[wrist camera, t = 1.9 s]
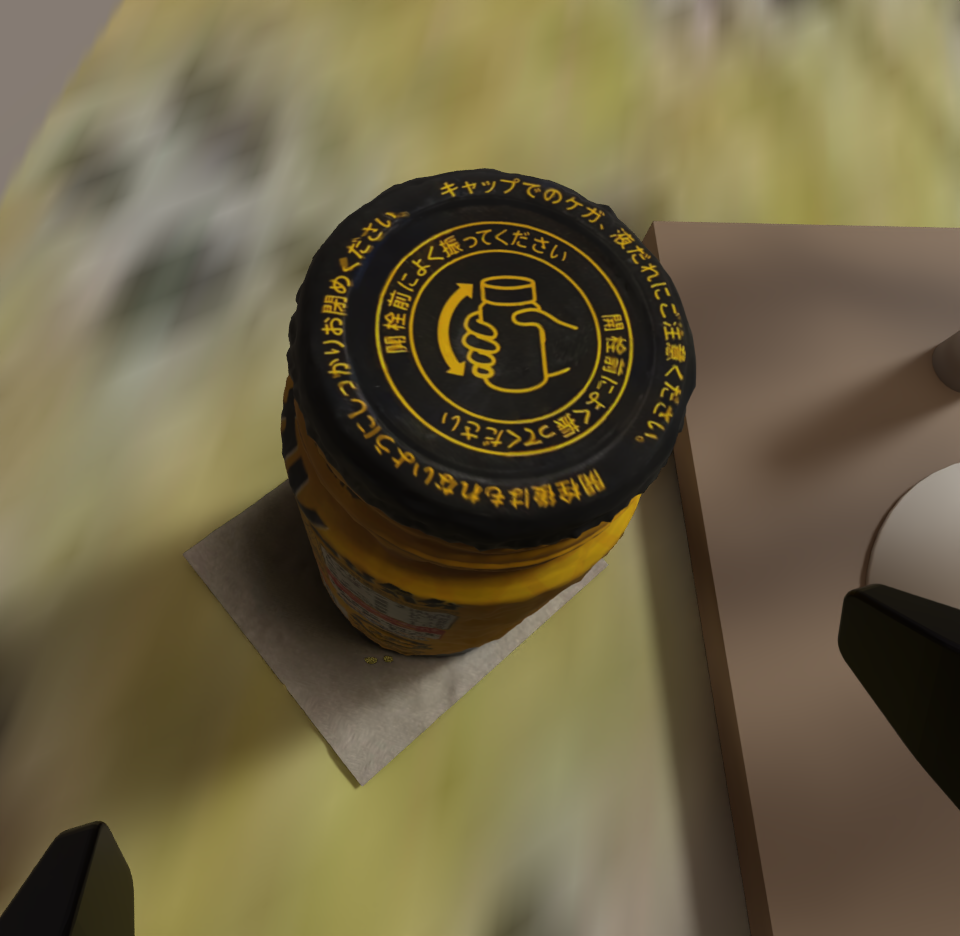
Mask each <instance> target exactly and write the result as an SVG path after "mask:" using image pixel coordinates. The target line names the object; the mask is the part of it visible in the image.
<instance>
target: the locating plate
mask: <svg viewBox="0 0 960 936" xmlns="http://www.w3.org/2000/svg"><path fill="white" fill-rule="evenodd" d="M642 243H643V244H644V246H645V247H646V248H647V249H648V250H649V251H650V252H651V253H652V254H653V255H654V256H655V257H656V258H657V259H658V260H659V262H660V263H661V265H662V266H663V268H664V269H665V271H666V272H667V273H668V275H669V276H670V277H671V279H672V281H673V283H674V285H675V287H676V289H677V291H678V293H679V296H680V299H681V301H682V304H683V307H684V310H685V314H686V317H687V320H688V323H689V326H690V329H691V331H692V335H693V341H694V348H695V355H696V387H695V389H694V391H693V393H692V395H691V397H690V399H689V401H688V404H687V406H686V414H685V418H684V426H683V429H682V432H680V433H678V436H677V439H676V443H675V445H674V448H673V450H674V457H675V463H676V469H677V475H678V482H679V488H680V494H681V500H682V507H683V513H684V519H685V525H686V532H687V538H688V544H689V550H690V557H691V563H692V569H693V575H694V582H695V588H696V594H697V600H698V607H699V613H700V619H701V625H702V632H703V638H704V644H705V650H706V657H707V663H708V669H709V675H710V681H711V688H712V694H713V700H714V706H715V713H716V719H717V725H718V731H719V738H720V744H721V750H722V756H723V763H724V769H725V775H726V781H727V788H728V794H729V800H730V806H731V813H732V819H733V825H734V831H735V838H736V844H737V850H738V856H739V863H740V869H741V875H742V881H743V887H744V894H745V900H746V906H747V912H748V919H749V925H750V931H751V936H960V811H959V809H958V808H957V807H956V806H955V805H954V804H953V802H952V801H951V800H950V799H949V798H948V797H947V795H946V794H945V793H944V792H943V791H942V790H941V789H940V787H939V786H938V785H937V784H936V783H935V782H934V780H933V779H932V778H931V777H930V776H929V775H928V773H927V772H926V771H925V770H924V769H923V767H922V766H921V765H920V764H919V763H918V761H917V760H916V759H915V757H914V756H913V755H912V754H911V752H910V751H909V750H908V748H907V747H906V746H905V744H904V743H903V742H902V740H901V739H900V737H899V736H898V735H897V733H896V732H895V730H894V729H893V728H892V726H891V725H890V723H889V722H888V721H887V719H886V718H885V716H884V715H883V714H882V712H881V711H880V709H879V708H878V707H877V705H876V704H875V703H874V701H873V700H872V698H871V697H870V696H869V694H868V693H867V691H866V690H865V689H864V687H863V686H862V684H861V683H860V682H859V680H858V679H857V677H856V676H855V675H854V673H853V672H852V670H851V669H850V668H849V666H848V665H847V663H846V662H845V661H844V659H843V657H842V655H841V653H840V650H839V647H838V632H839V625H840V618H841V612H842V605H843V600H844V597H845V595H846V594H847V592H849V591H850V590H853V589H856V588H860V587H863V586H866V585H869V584H875V583H878V584H883V585H886V586H890V587H893V588H896V589H899V590H902V591H905V592H908V593H911V594H914V595H917V596H920V597H924V598H927V599H930V600H933V601H936V602H939V603H942V604H945V605H948V606H951V607H954V608H957V609H960V228H934V227H889V226H844V225H800V224H755V223H710V222H665V221H653V223H652V224H651V226H650V228H649V230H648V232H647V234H646V235H645V237H644V239H643V241H642Z"/></svg>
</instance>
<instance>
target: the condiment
mask: <svg viewBox="0 0 960 936" xmlns="http://www.w3.org/2000/svg"><path fill="white" fill-rule="evenodd" d="M296 302H297V304H298V305H297V310H296V312H295V313H294V314H293V316H292V317H291V321H290V324H289V333H288V337H289V342H290V348H289V350H288V352H287V354H286V356H287V361H288V373H289V376H288V377H287V380H286V387H285V390H284V396H283V411H282V414H281V437H282V455H283V458H284V460H285V466H286V470H287V474H288V478H289V479H287V480H286V481H285V482H283V483H282V484H281V485H279V486H278V487H277V488H275V489H274V490H272V491H271V492H269V493H268V494H266V495H265V496H264V497H262V498H261V499H260V500H259V501H257V502H256V503H255V504H253V505H252V506H250V507H248V508H247V509H246V510H244V511H243V512H242V513H240V514H239V515H238V516H236V517H234V518H233V519H231V520H230V521H228V522H227V523H225V524H224V525H222V526H221V527H219V528H218V529H216V530H214V531H213V532H212V533H210V534H209V535H208V536H207V537H205V538H204V539H203V540H201V541H200V542H199V543H197V544H196V545H194V546H193V547H192V548H190V549H189V550H187V551H186V552H185V553H183V556H184V557H185V558H186V560H187V561H188V562H189V563H190V565H191V566H192V567H193V569H194V570H195V571H196V573H197V574H198V575H199V576H200V577H201V578H202V580H203V581H204V583H205V584H206V585H207V586H208V588H209V589H210V590H211V592H212V593H213V594H214V595H215V597H216V598H217V599H218V601H219V602H220V603H221V604H222V606H223V607H224V608H225V610H226V611H227V612H228V613H229V615H230V616H231V617H232V619H233V620H234V621H235V622H236V623H237V625H238V626H239V627H240V629H241V630H242V632H243V633H244V635H245V636H246V637H247V638H248V639H249V640H250V642H251V643H252V644H253V645H254V647H255V648H256V649H257V651H258V652H259V653H260V655H261V656H262V657H263V659H264V660H265V661H266V663H267V664H268V665H269V666H270V668H271V669H272V670H273V672H274V673H275V674H276V676H277V677H278V678H279V679H280V681H281V682H282V683H283V684H285V686H286V687H287V690H288V691H289V692H290V694H291V695H292V696H293V697H294V699H295V700H296V701H297V703H298V704H299V705H300V707H301V708H302V709H303V710H304V711H305V713H306V714H307V716H308V717H309V718H310V720H311V721H312V722H313V724H314V725H315V726H316V727H317V729H318V730H319V731H320V732H321V734H322V735H323V736H324V738H325V739H326V740H327V742H328V743H329V744H330V745H331V746H332V748H333V749H334V751H335V752H336V753H337V755H338V756H339V757H340V759H341V760H342V761H343V762H344V764H345V765H346V766H347V768H348V769H349V770H350V772H351V773H352V774H353V775H354V777H355V778H356V779H357V781H358V782H359V783H360V785H361V786H363V785H364V784H365V783H367V782H368V781H369V780H370V779H371V778H372V777H373V776H374V775H375V774H377V773H378V772H379V771H380V770H381V769H382V768H383V767H384V766H386V765H387V764H388V763H389V762H390V761H391V760H392V759H393V758H394V757H396V756H397V755H398V754H399V753H400V752H401V751H402V750H403V749H404V748H405V747H407V746H408V745H409V744H410V743H411V742H412V741H413V740H414V739H415V738H417V737H418V736H419V735H420V734H421V733H422V732H423V731H425V730H426V729H427V728H428V727H429V726H430V725H431V724H432V723H433V722H434V721H435V720H436V719H437V718H438V717H439V716H441V715H442V714H443V713H444V712H445V711H446V710H448V709H449V708H450V707H451V706H452V705H453V704H454V703H456V702H457V701H458V700H459V699H460V698H461V697H462V696H463V695H464V694H466V693H467V692H468V691H469V690H470V689H471V688H472V687H473V686H474V685H476V684H477V683H478V682H479V681H480V680H481V679H482V678H483V677H484V676H485V675H487V674H488V673H489V672H490V671H491V670H492V669H493V668H494V667H495V666H496V665H498V664H499V663H500V662H501V661H502V660H503V659H504V658H505V657H506V656H508V655H509V654H510V653H511V652H512V651H513V650H514V649H515V648H516V647H518V646H519V645H520V644H521V643H522V642H523V641H524V640H525V639H527V638H528V637H529V636H530V635H531V634H532V633H533V632H534V631H535V630H536V629H538V628H539V627H540V626H541V625H542V624H543V623H544V622H545V621H547V620H548V619H549V618H550V617H551V616H552V615H553V614H554V613H555V612H556V611H558V610H559V609H560V608H561V607H562V606H563V605H564V604H565V603H567V602H568V601H569V600H570V599H571V598H572V597H573V596H574V595H575V594H577V593H578V592H579V591H580V590H581V589H582V588H583V587H584V586H585V585H586V584H588V583H589V582H590V581H591V580H592V579H593V578H594V577H595V576H597V575H598V574H599V573H600V572H601V571H602V570H603V569H605V568H606V567H607V566H608V564H607V563H606V562H605V561H604V560H603V557H605V556H606V555H607V554H608V552H609V551H610V550H611V549H612V548H613V547H614V545H615V544H616V543H617V542H618V540H619V539H620V538H621V537H622V536H623V534H624V531H625V529H626V527H627V525H628V523H629V521H630V520H631V518H632V516H633V514H634V512H635V510H636V507H637V505H638V502H639V499H640V496H641V494H642V493H644V492H645V490H646V489H647V488H648V486H649V485H650V484H651V483H652V482H653V481H654V480H655V479H657V477H658V474H659V472H660V470H661V468H662V467H664V466H665V465H666V463H667V460H668V458H669V456H670V455H671V453H672V450H673V448H674V445H675V443H676V439H677V436H678V433H680V432H682V429H683V426H684V418H685V414H686V406H687V404H688V401H689V399H690V397H691V395H692V393H693V391H694V389H695V387H696V355H695V348H694V341H693V335H692V331H691V329H690V326H689V323H688V320H687V317H686V314H685V310H684V307H683V304H682V301H681V299H680V296H679V293H678V291H677V289H676V287H675V285H674V283H673V281H672V279H671V277H670V276H669V275H668V273H667V272H666V271H665V269H664V268H663V266H662V265H661V263H660V262H659V260H658V259H657V258H656V257H655V256H654V255H653V254H652V253H651V252H650V251H649V250H648V249H647V248H646V247H645V246H644V244H643V243H642V242H641V241H640V240H639V239H638V238H637V236H636V235H635V234H634V233H633V232H632V231H631V230H630V229H629V228H628V227H627V226H626V225H625V224H624V223H623V222H621V221H620V220H619V219H618V218H617V216H616V215H615V213H614V212H613V210H612V209H611V208H610V207H609V206H607V205H602V204H596V203H593V202H591V201H589V200H587V199H586V198H584V197H583V196H582V195H580V194H578V193H577V192H575V191H574V190H572V189H570V188H567V187H565V186H563V185H560V184H558V183H555V182H553V181H550V180H544V179H539V178H535V177H531V176H525V175H520V174H510V173H504V172H501V171H498V170H495V169H486V168H484V169H475V170H462V171H454V172H448V173H443V174H439V175H435V176H429V177H422V178H416V179H412V180H409V181H407V182H404V183H402V184H397V185H394V186H392V187H390V188H389V189H387V190H385V191H384V192H382V193H381V194H380V195H378V196H377V197H376V198H375V199H373V200H372V201H371V202H369V203H367V204H365V205H363V206H362V207H361V208H359V209H358V210H357V211H355V212H353V213H352V214H351V215H349V216H348V217H347V218H346V219H344V220H343V221H342V222H341V223H340V224H339V225H338V226H337V228H336V229H335V230H334V231H333V233H332V234H331V235H330V236H329V237H328V239H327V240H326V241H325V243H324V244H323V245H322V246H321V247H320V249H319V250H318V251H317V253H316V254H315V255H314V257H313V260H312V262H311V264H310V266H309V269H308V271H307V274H306V277H305V280H304V282H303V283H302V285H301V286H300V288H299V290H298V292H297V295H296ZM386 655H387V656H391V657H393V661H392V662H390V663H389V662H385V661H384V659H383V657H384V656H386ZM368 657H375V658H377V659H378V660H377V662H376V663H374V664H368V663H366V661H365V660H364V659H365V658H368Z"/></svg>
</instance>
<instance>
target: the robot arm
mask: <svg viewBox="0 0 960 936" xmlns="http://www.w3.org/2000/svg"><path fill="white" fill-rule="evenodd" d="M838 647H839V650H840V653H841V655H842V657H843V659H844V661H845V662H846V663H847V665H848V666H849V668H850V669H851V670H852V672H853V673H854V675H855V676H856V677H857V679H858V680H859V682H860V683H861V684H862V686H863V687H864V689H865V690H866V691H867V693H868V694H869V696H870V697H871V698H872V700H873V701H874V703H875V704H876V705H877V707H878V708H879V709H880V711H881V712H882V714H883V715H884V716H885V718H886V719H887V721H888V722H889V723H890V725H891V726H892V728H893V729H894V730H895V732H896V733H897V735H898V736H899V737H900V739H901V740H902V742H903V743H904V744H905V746H906V747H907V748H908V750H909V751H910V752H911V754H912V755H913V756H914V757H915V759H916V760H917V761H918V763H919V764H920V765H921V766H922V767H923V769H924V770H925V771H926V772H927V773H928V775H929V776H930V777H931V778H932V779H933V780H934V782H935V783H936V784H937V785H938V786H939V787H940V789H941V790H942V791H943V792H944V793H945V794H946V795H947V797H948V798H949V799H950V800H951V801H952V802H953V804H954V805H955V806H956V807H957V808H958V809H959V811H960V609H957V608H954V607H951V606H948V605H945V604H942V603H939V602H936V601H933V600H930V599H927V598H924V597H920V596H917V595H914V594H911V593H908V592H905V591H902V590H899V589H896V588H893V587H890V586H886V585H883V584H878V583H875V584H869V585H866V586H863V587H860V588H856V589H853V590H850V591H849V592H847V594H846V595H845V597H844V600H843V605H842V612H841V618H840V625H839V632H838ZM0 936H135V932H134V887H133V880H132V875H131V872H130V869H129V866H128V864H127V862H126V860H125V858H124V857H123V855H122V853H121V851H120V849H119V847H118V845H117V843H116V841H115V839H114V837H113V835H112V833H111V831H110V829H109V827H108V826H107V825H106V824H105V823H104V822H102V821H95V822H91V823H88V824H85V825H82V826H78V827H75V828H72V829H69V830H66V831H63V832H62V833H60V834H59V835H58V836H57V837H56V838H55V839H54V841H53V842H52V843H51V845H50V846H49V848H48V849H47V851H46V852H45V853H44V855H43V856H42V858H41V859H40V861H39V862H38V864H37V865H36V866H35V868H34V869H33V871H32V872H31V874H30V875H29V876H28V878H27V879H26V881H25V882H24V884H23V885H22V887H21V888H20V889H19V891H18V892H17V894H16V895H15V897H14V898H13V900H12V901H11V902H10V904H9V905H8V907H7V908H6V910H5V911H4V912H3V914H2V915H1V917H0Z"/></svg>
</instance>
